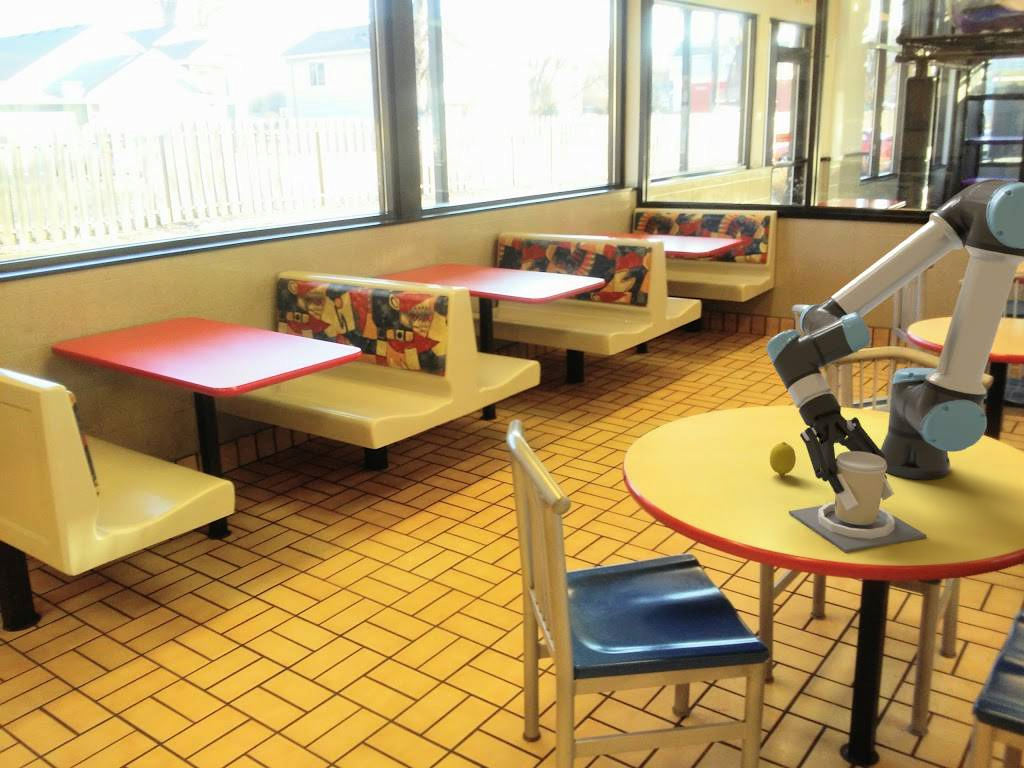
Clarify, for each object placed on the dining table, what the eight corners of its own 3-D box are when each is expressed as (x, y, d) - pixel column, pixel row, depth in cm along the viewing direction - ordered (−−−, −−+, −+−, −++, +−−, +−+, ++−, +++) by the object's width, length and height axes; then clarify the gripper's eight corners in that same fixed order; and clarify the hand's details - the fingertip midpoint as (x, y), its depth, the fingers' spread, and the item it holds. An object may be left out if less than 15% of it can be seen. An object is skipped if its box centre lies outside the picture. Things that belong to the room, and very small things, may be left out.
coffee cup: (840, 502, 181) (845, 447, 177) (888, 514, 175) (894, 457, 172) (823, 518, 174) (828, 461, 170) (872, 531, 168) (878, 472, 165)
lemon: (767, 478, 199) (769, 444, 196) (769, 469, 204) (771, 436, 201) (793, 481, 197) (796, 447, 194) (795, 472, 202) (797, 439, 199)
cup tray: (864, 501, 186) (865, 491, 185) (926, 537, 169) (927, 527, 168) (788, 513, 181) (789, 504, 180) (844, 552, 164) (845, 542, 164)
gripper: (843, 401, 187) (898, 498, 178) (763, 418, 178) (817, 521, 169) (865, 383, 181) (923, 483, 172) (784, 400, 172) (841, 506, 163)
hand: (870, 502), depth 170 cm, fingers closed on coffee cup, 9 cm apart
